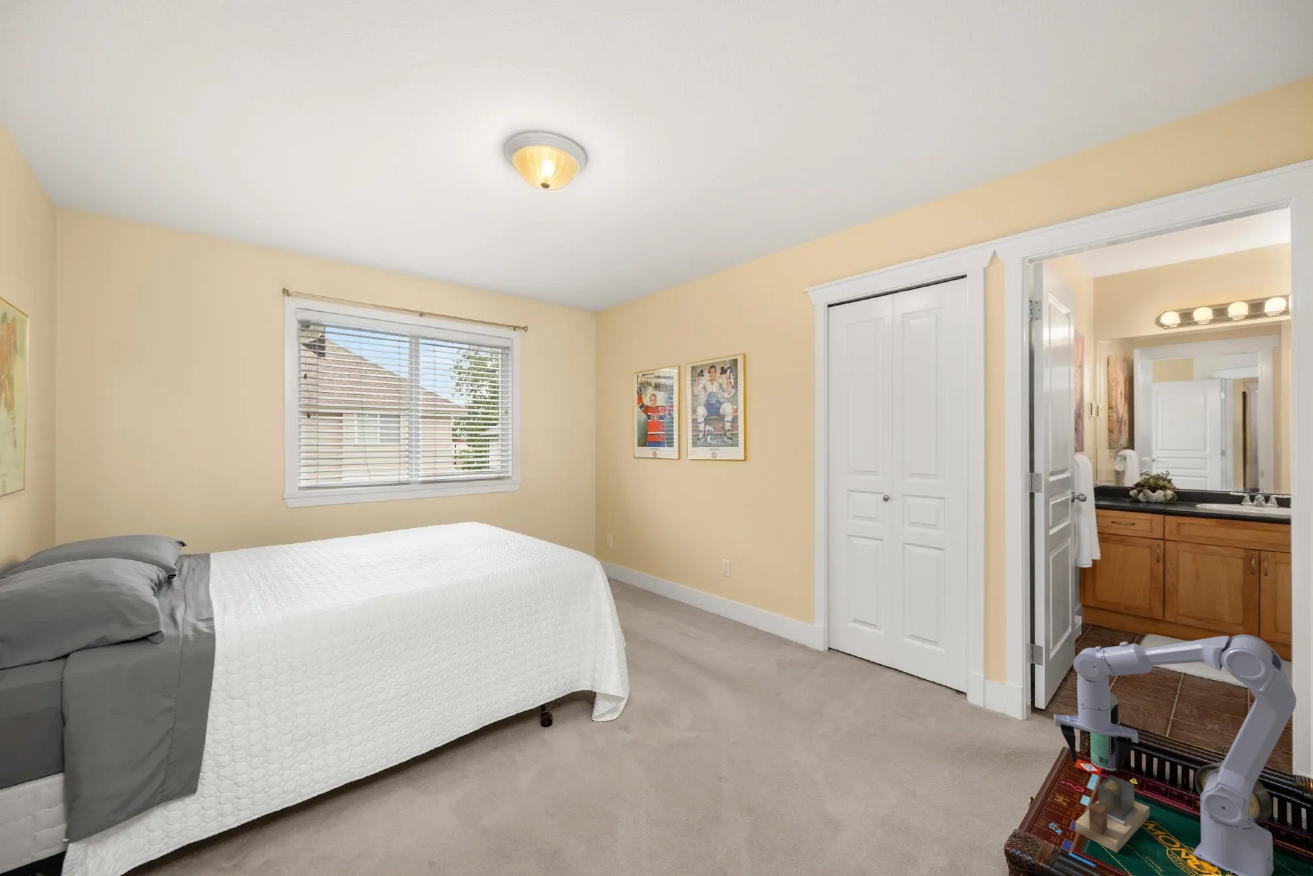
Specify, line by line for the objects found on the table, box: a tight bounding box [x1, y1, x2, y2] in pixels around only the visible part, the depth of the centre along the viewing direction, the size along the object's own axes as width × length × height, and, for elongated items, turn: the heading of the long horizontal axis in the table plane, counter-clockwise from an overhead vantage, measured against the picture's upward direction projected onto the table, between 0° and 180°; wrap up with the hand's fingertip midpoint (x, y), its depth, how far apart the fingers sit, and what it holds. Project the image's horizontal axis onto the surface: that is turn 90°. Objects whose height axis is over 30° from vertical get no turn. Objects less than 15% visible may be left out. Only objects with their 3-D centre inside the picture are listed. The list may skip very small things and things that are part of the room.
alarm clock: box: [1194, 745, 1273, 825], centre depth 115 cm, size 11×5×16 cm, turn 17°
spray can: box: [1089, 691, 1119, 772], centre depth 136 cm, size 6×6×20 cm
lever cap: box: [1097, 774, 1135, 820], centre depth 117 cm, size 4×7×6 cm, turn 122°
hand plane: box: [1074, 800, 1150, 853], centre depth 116 cm, size 7×18×6 cm, turn 122°
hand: (1095, 764), depth 121 cm, fingers open, 7 cm apart
